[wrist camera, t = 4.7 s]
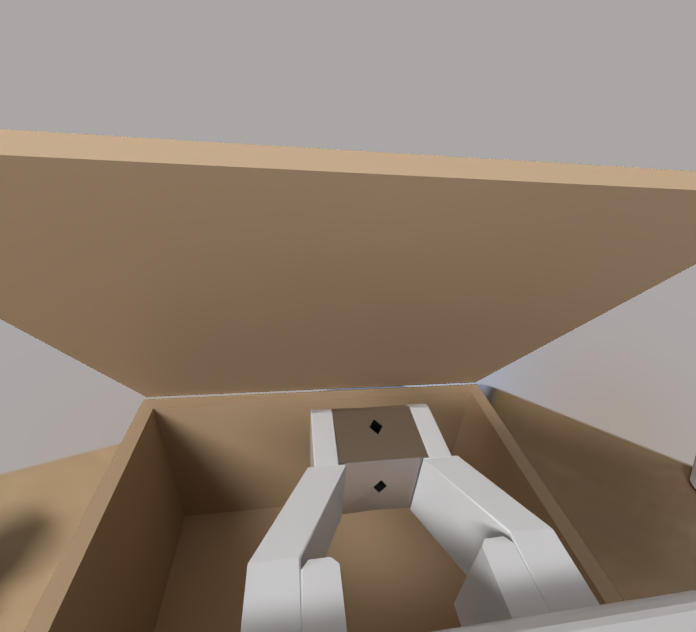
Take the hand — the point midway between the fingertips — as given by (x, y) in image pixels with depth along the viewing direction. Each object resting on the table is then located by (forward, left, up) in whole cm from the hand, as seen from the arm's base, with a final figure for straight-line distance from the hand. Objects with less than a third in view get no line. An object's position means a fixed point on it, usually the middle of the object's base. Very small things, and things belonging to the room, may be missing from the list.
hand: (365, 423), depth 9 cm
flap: (-4, -4, -1) cm, 6 cm away
